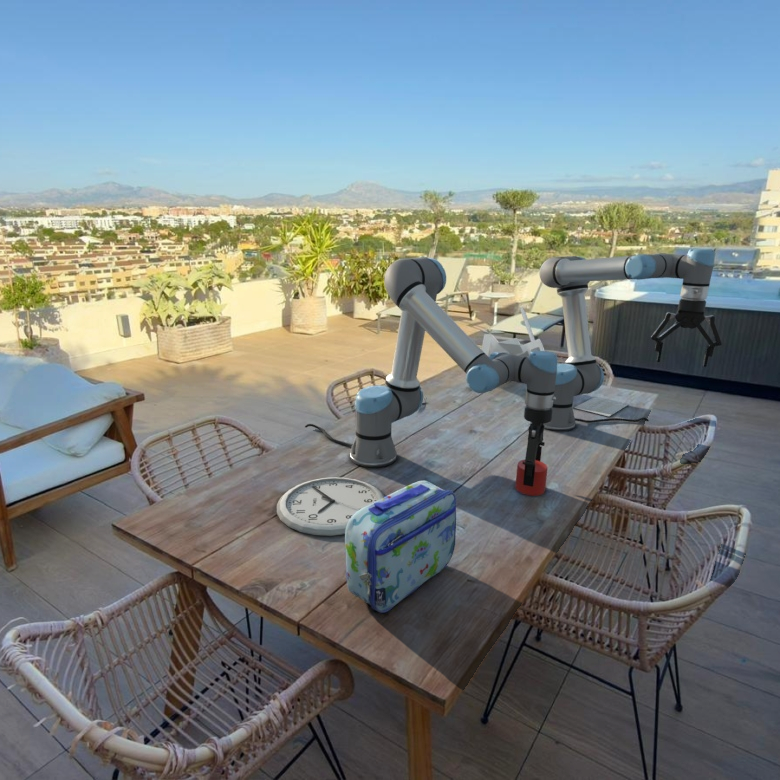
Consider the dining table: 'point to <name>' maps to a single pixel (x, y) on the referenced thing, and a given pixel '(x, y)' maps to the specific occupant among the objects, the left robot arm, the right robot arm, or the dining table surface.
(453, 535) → the lunch box
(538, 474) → the canister
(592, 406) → the invitation card
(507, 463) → the dining table surface
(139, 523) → the dining table surface
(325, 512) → the wall clock
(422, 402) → the fork
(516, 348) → the white plastic object
